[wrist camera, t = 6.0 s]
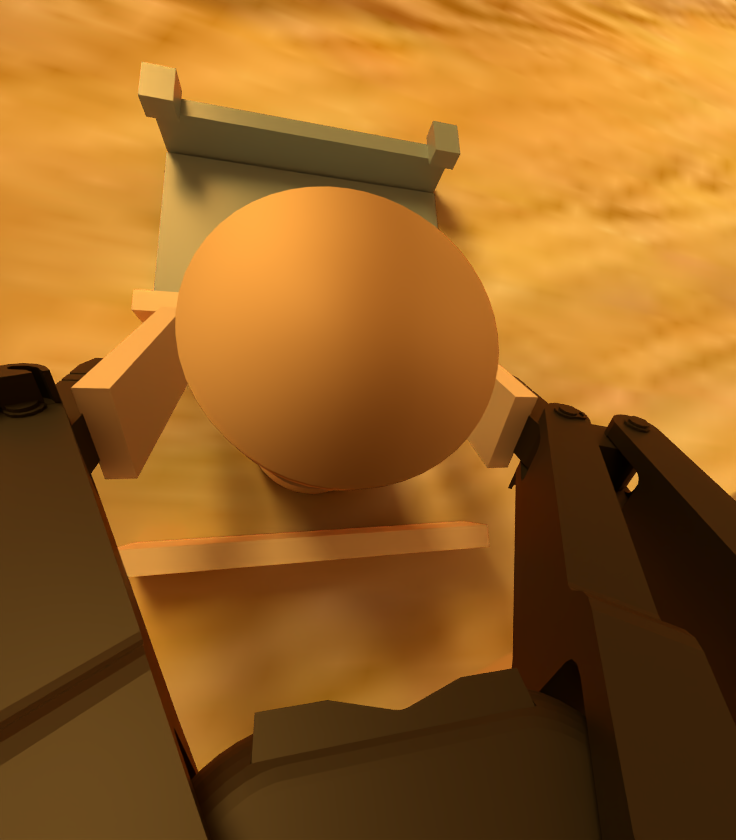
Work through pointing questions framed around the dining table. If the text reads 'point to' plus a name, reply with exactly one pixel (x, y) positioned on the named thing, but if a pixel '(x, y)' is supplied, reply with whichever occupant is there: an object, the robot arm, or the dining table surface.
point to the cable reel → (336, 339)
